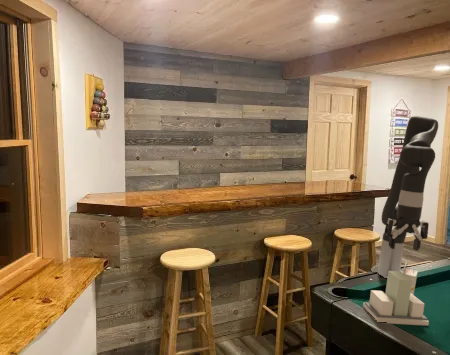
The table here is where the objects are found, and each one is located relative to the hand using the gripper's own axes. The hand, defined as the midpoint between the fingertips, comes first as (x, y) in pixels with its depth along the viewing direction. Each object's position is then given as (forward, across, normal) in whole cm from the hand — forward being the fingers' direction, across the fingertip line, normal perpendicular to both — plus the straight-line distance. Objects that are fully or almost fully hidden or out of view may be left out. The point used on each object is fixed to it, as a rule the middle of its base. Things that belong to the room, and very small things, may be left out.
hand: (403, 249), depth 130 cm
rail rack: (+25, 0, 0) cm, 25 cm away
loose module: (+23, 0, 0) cm, 23 cm away
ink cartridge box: (+25, -12, -14) cm, 31 cm away
